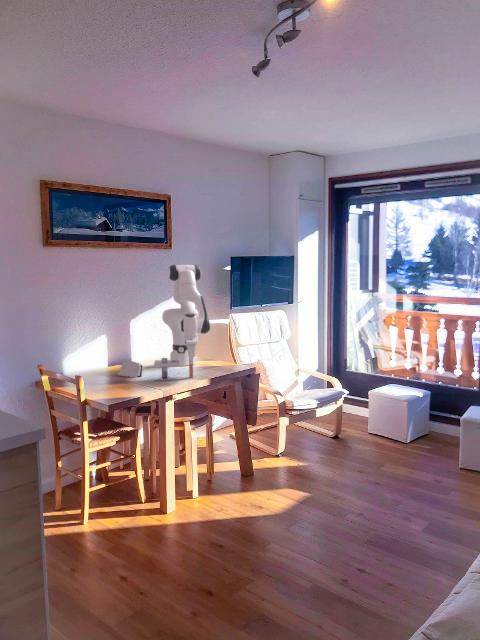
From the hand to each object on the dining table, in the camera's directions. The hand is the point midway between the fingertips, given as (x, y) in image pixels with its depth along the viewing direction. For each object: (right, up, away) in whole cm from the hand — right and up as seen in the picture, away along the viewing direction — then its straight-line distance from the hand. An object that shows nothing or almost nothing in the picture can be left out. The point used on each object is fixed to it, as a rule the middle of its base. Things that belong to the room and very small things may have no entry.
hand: (191, 362), depth 338 cm
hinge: (-39, -9, +9) cm, 41 cm away
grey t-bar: (-14, -10, -4) cm, 18 cm away
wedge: (0, -9, +1) cm, 9 cm away
